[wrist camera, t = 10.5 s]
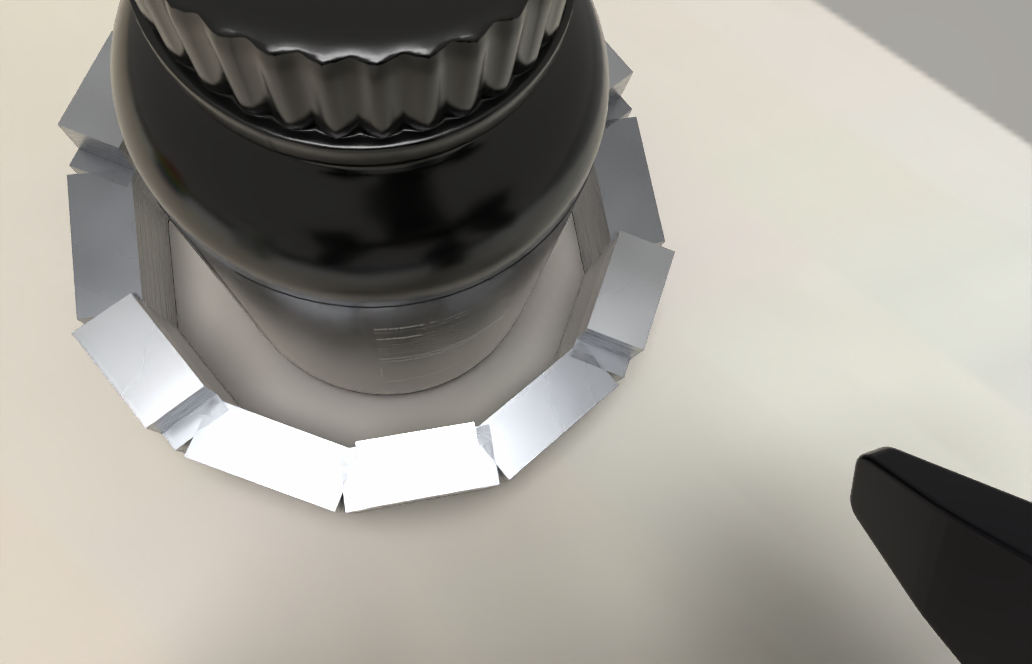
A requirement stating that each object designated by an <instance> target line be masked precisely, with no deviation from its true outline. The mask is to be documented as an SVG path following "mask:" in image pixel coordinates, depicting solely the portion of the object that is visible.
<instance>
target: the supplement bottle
mask: <svg viewBox="0 0 1032 664" xmlns="http://www.w3.org/2000/svg"><path fill="white" fill-rule="evenodd" d="M110 77H111V87H112V96H113V102H114V106H115V111H116V115H117V120H118V124H119V128H120V131H121V133H122V136H123V139H124V142H125V145H126V148H127V150H128V152H129V154H130V156H131V158H132V160H133V162H134V164H135V167H136V169H137V170H138V172H139V174H140V175H141V177H142V179H143V180H144V182H145V184H146V185H147V187H148V188H149V190H150V192H151V193H152V195H153V196H154V198H155V199H156V201H157V202H158V204H159V205H160V207H161V208H162V209H163V211H164V212H165V213H166V215H167V216H168V217H169V218H170V220H171V221H172V222H173V223H174V225H175V226H176V227H177V229H178V230H179V231H180V232H181V234H182V235H183V236H184V237H185V239H186V240H187V241H188V242H189V244H190V245H191V246H192V247H193V249H194V250H195V251H196V252H197V254H198V255H199V256H200V257H201V258H202V260H203V261H204V262H205V263H206V265H207V266H208V267H209V268H210V270H211V271H212V272H213V273H214V275H215V276H216V277H217V278H218V280H219V281H220V282H221V283H222V285H223V286H224V287H225V288H226V289H227V291H228V292H229V293H230V294H231V296H232V297H233V298H234V299H235V301H236V302H237V303H238V304H239V306H240V307H241V308H242V309H243V311H244V312H245V313H246V314H247V316H248V317H249V318H250V319H251V321H252V322H253V323H254V324H255V325H256V327H257V328H258V329H259V330H260V332H261V333H262V334H263V335H264V336H265V337H266V338H267V339H268V340H269V342H270V343H271V344H272V345H273V346H274V347H275V348H276V349H277V350H278V351H279V352H280V353H281V354H282V355H284V356H285V357H286V358H287V359H288V360H289V361H291V362H292V363H293V364H295V365H296V366H298V367H299V368H301V369H302V370H304V371H305V372H307V373H309V374H310V375H312V376H314V377H316V378H318V379H320V380H322V381H324V382H327V383H329V384H332V385H334V386H338V387H341V388H344V389H347V390H352V391H357V392H362V393H370V394H402V393H410V392H416V391H421V390H425V389H428V388H432V387H435V386H438V385H440V384H443V383H445V382H448V381H450V380H452V379H454V378H456V377H458V376H460V375H462V374H463V373H465V372H467V371H468V370H470V369H471V368H473V367H474V366H476V365H477V364H478V363H479V362H481V361H482V360H483V359H485V358H486V357H487V356H488V355H489V354H490V353H491V352H492V351H493V350H494V349H495V348H496V347H497V346H498V345H499V344H500V342H501V341H502V340H503V339H504V338H505V336H506V335H507V334H508V332H509V331H510V329H511V328H512V326H513V325H514V323H515V321H516V320H517V318H518V316H519V315H520V313H521V311H522V309H523V307H524V306H525V304H526V302H527V300H528V298H529V296H530V294H531V292H532V290H533V288H534V286H535V284H536V282H537V280H538V278H539V276H540V274H541V272H542V270H543V268H544V266H545V264H546V262H547V260H548V258H549V256H550V254H551V252H552V250H553V248H554V246H555V244H556V242H557V240H558V238H559V236H560V234H561V232H562V230H563V228H564V226H565V224H566V222H567V220H568V218H569V216H570V214H571V212H572V210H573V208H574V206H575V204H576V202H577V200H578V198H579V196H580V194H581V192H582V190H583V188H584V185H585V183H586V181H587V178H588V176H589V174H590V171H591V169H592V167H593V164H594V161H595V158H596V155H597V152H598V149H599V146H600V142H601V139H602V136H603V132H604V128H605V122H606V117H607V111H608V99H609V66H608V58H607V51H606V44H605V40H604V36H603V32H602V28H601V24H600V20H599V17H598V14H597V11H596V9H595V6H594V3H593V1H592V0H120V3H119V7H118V11H117V15H116V19H115V23H114V29H113V36H112V44H111V63H110Z"/></svg>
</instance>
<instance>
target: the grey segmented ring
mask: <svg viewBox="0 0 1032 664" xmlns="http://www.w3.org/2000/svg"><path fill="white" fill-rule="evenodd" d="M112 36H113V31H112V32H111V33H110V35H109V37H108V39H107V40H106V42H105V44H104V45H103V47H102V49H101V51H100V52H99V54H98V56H97V58H96V59H95V61H94V63H93V64H92V66H91V68H90V70H89V71H88V73H87V75H86V77H85V78H84V80H83V82H82V83H81V85H80V87H79V89H78V90H77V92H76V94H75V96H74V97H73V99H72V101H71V102H70V104H69V106H68V108H67V109H66V111H65V113H64V114H63V116H62V118H61V120H60V121H59V123H58V126H59V127H60V128H61V129H62V130H63V131H64V132H65V133H66V135H67V136H68V137H69V138H70V139H71V140H72V141H73V142H74V144H75V145H76V146H77V147H78V148H79V149H78V151H77V153H76V154H75V156H74V158H73V160H72V161H71V163H70V165H69V166H70V167H71V168H72V169H73V170H74V171H75V172H76V173H77V174H71V175H67V182H68V196H69V211H70V225H71V240H72V254H73V269H74V283H75V298H76V313H77V320H79V321H81V322H82V323H84V325H83V326H81V327H80V328H78V329H77V330H75V331H74V332H72V334H73V335H74V337H75V338H76V339H77V341H78V342H79V343H80V344H81V346H82V347H83V348H84V350H85V351H86V352H87V353H88V355H89V356H90V357H91V359H92V360H93V361H94V362H95V364H96V365H97V366H98V368H99V369H100V370H101V371H102V373H103V374H104V375H105V377H106V378H107V379H108V380H109V382H110V383H111V384H112V386H113V387H114V388H115V389H116V391H117V392H118V393H119V395H120V396H121V397H122V398H123V400H124V401H125V402H126V404H127V405H128V406H129V407H130V409H131V410H132V411H133V413H134V414H135V415H136V416H137V418H138V419H139V420H140V422H141V423H142V424H143V425H144V427H145V428H147V429H150V430H153V431H156V432H159V433H162V434H163V435H164V436H165V438H166V439H167V440H168V442H169V443H170V444H171V445H172V447H173V448H174V449H175V450H176V451H180V452H183V453H186V454H185V456H184V457H187V458H189V459H192V460H195V461H197V462H200V463H203V464H206V465H208V466H211V467H214V468H217V469H219V470H222V471H225V472H228V473H230V474H233V475H236V476H239V477H241V478H244V479H247V480H250V481H252V482H255V483H258V484H260V485H263V486H266V487H269V488H271V489H274V490H277V491H280V492H282V493H285V494H288V495H291V496H293V497H296V498H299V499H302V500H304V501H307V502H310V503H313V504H315V505H318V506H321V507H323V508H326V509H329V510H332V511H334V512H345V510H346V513H356V512H361V511H367V510H372V509H378V508H383V507H389V506H394V505H400V504H405V503H411V502H416V501H421V500H427V499H432V498H438V497H443V496H449V495H454V494H460V493H465V492H471V491H476V490H482V489H487V488H490V487H493V486H496V485H500V483H501V482H504V481H507V480H510V479H511V478H512V477H513V476H514V475H515V474H517V473H518V472H519V471H520V470H521V469H522V468H524V467H525V466H526V465H527V464H528V463H529V462H530V461H532V460H533V459H534V458H535V457H536V456H537V455H539V454H540V453H541V452H542V451H543V450H544V449H545V448H547V447H548V446H549V445H550V444H551V443H552V442H554V441H555V440H556V439H557V438H558V437H559V436H561V435H562V434H563V433H564V432H565V431H566V430H567V429H569V428H570V427H571V426H572V425H573V424H574V423H576V422H577V421H578V420H579V419H580V418H581V417H582V416H584V415H585V414H586V413H587V412H588V411H589V410H591V409H592V408H593V407H594V406H595V405H596V404H598V403H599V402H600V401H601V400H602V399H603V398H604V397H606V396H607V395H608V394H609V393H610V392H611V391H613V390H614V389H615V388H616V387H617V386H618V384H617V383H616V382H617V381H619V380H620V379H622V378H623V377H624V375H625V372H626V369H627V366H628V363H629V360H630V359H631V358H633V357H634V356H636V355H637V354H639V353H640V352H641V351H643V350H644V348H645V344H646V341H647V338H648V335H649V332H650V329H651V325H652V322H653V319H654V316H655V313H656V310H657V307H658V303H659V300H660V297H661V294H662V291H663V288H664V285H665V281H666V278H667V275H668V272H669V269H670V266H671V262H672V259H673V256H674V253H675V252H674V251H672V250H669V249H667V248H664V247H662V246H661V245H662V244H663V243H664V242H665V239H664V235H663V231H662V226H661V222H660V218H659V213H658V209H657V205H656V200H655V196H654V192H653V187H652V183H651V179H650V174H649V170H648V166H647V161H646V157H645V153H644V148H643V144H642V140H641V135H640V131H639V127H638V122H637V118H636V117H631V118H627V117H628V116H629V114H630V112H631V110H632V108H631V107H630V106H629V105H628V104H627V103H626V102H625V101H624V99H623V98H622V97H621V95H622V93H623V91H624V89H625V87H626V85H627V83H628V81H629V79H630V77H631V75H632V73H633V71H632V70H631V69H630V68H629V67H628V66H627V65H626V64H625V63H624V61H623V60H622V59H621V58H620V57H619V56H618V55H617V54H616V52H615V51H614V50H613V49H612V48H611V47H610V46H609V45H608V43H607V42H606V41H605V44H606V51H607V58H608V66H609V99H608V111H607V117H606V122H605V128H604V132H603V136H602V139H601V142H600V146H599V149H598V152H597V155H596V158H595V161H594V164H593V167H592V169H591V171H590V174H589V176H588V178H587V181H586V183H585V185H584V188H583V190H582V192H581V194H580V196H579V198H578V200H577V202H576V204H575V206H574V208H573V210H572V214H573V219H574V223H575V228H576V233H577V238H578V243H579V248H580V252H581V257H582V262H583V267H584V272H585V275H584V278H583V280H582V283H581V286H580V289H579V292H578V295H577V298H576V300H575V303H574V306H573V309H572V312H571V315H570V318H569V321H568V323H567V326H566V329H565V332H564V335H563V338H562V341H561V343H560V346H559V349H558V352H557V355H556V358H555V361H554V364H553V365H552V366H551V367H549V368H548V369H547V370H546V371H545V372H543V373H542V374H541V375H540V376H539V377H537V378H536V379H535V380H534V381H532V382H531V383H530V384H529V385H528V386H526V387H525V388H524V389H523V390H522V391H520V392H519V393H518V394H517V395H516V396H514V397H513V398H512V399H511V400H510V401H508V402H507V403H506V404H505V405H504V406H502V407H501V408H500V409H499V410H498V411H496V412H495V413H494V414H493V415H492V416H490V417H489V418H488V419H487V420H486V421H484V422H483V423H482V424H481V425H480V426H477V427H475V425H474V422H470V423H464V424H459V425H453V426H447V427H441V428H435V429H429V430H423V431H417V432H411V433H405V434H399V435H393V436H387V437H381V438H375V439H369V440H363V441H357V442H355V444H356V447H352V448H347V447H344V446H342V445H339V444H336V443H334V442H331V441H328V440H325V439H323V438H320V437H317V436H315V435H312V434H309V433H307V432H304V431H301V430H298V429H296V428H293V427H290V426H288V425H285V424H282V423H280V422H277V421H274V420H271V419H269V418H266V417H263V416H261V415H258V414H255V413H252V412H250V411H247V410H244V409H242V408H240V407H239V406H238V404H237V403H236V402H235V401H234V399H233V398H232V397H231V396H230V394H229V393H228V392H227V391H226V389H225V388H224V387H223V386H222V384H221V383H220V382H219V381H218V379H217V378H216V377H215V375H214V374H213V373H212V372H211V370H210V369H209V368H208V367H207V365H206V364H205V363H204V362H203V360H202V359H201V358H200V357H199V355H198V354H197V353H196V352H195V350H194V349H193V348H192V347H191V345H190V344H189V343H188V341H187V340H186V339H185V338H184V336H183V335H182V334H181V333H180V331H179V330H178V326H177V315H176V305H175V294H174V284H173V273H172V263H171V252H170V242H169V231H168V221H169V219H170V218H169V217H168V216H167V215H166V213H165V212H164V211H163V209H162V208H161V207H160V205H159V204H158V202H157V201H156V199H155V198H154V196H153V195H152V193H151V192H150V190H149V188H148V187H147V185H146V184H145V182H144V180H143V179H142V177H141V175H140V174H139V172H138V170H137V169H136V167H135V164H134V162H133V160H132V158H131V156H130V154H129V152H128V150H127V148H126V145H125V142H124V139H123V136H122V133H121V131H120V128H119V124H118V120H117V115H116V111H115V106H114V102H113V96H112V87H111V77H110V63H111V44H112Z"/></svg>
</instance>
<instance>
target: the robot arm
mask: <svg viewBox="0 0 1032 664" xmlns="http://www.w3.org/2000/svg"><path fill="white" fill-rule="evenodd" d="M850 501H851V506H852V510H853V512H854V514H855V516H856V518H857V519H858V521H859V522H860V524H861V525H862V527H863V528H864V530H865V531H866V533H867V534H868V536H869V537H870V539H871V540H872V542H873V543H874V545H875V546H876V548H877V549H878V551H879V552H880V554H881V555H882V557H883V558H884V560H885V561H886V563H887V564H888V566H889V567H890V569H891V570H892V572H893V573H894V575H895V576H896V578H897V579H898V581H899V582H900V584H901V585H902V587H903V588H904V590H905V591H906V593H907V594H908V596H909V597H910V599H911V600H912V602H913V603H914V604H915V606H916V607H917V609H918V610H919V611H920V613H921V614H922V616H923V617H924V618H925V619H926V621H927V622H928V623H929V625H930V626H931V627H932V628H933V630H934V631H935V632H936V633H937V635H938V636H939V637H940V638H941V639H942V641H943V642H944V643H945V644H946V646H947V647H948V648H949V649H950V650H951V652H952V653H953V654H954V655H955V657H956V658H957V659H958V660H959V661H960V663H961V664H1032V502H1029V501H1027V500H1024V499H1022V498H1019V497H1017V496H1014V495H1011V494H1009V493H1006V492H1004V491H1001V490H999V489H996V488H994V487H991V486H989V485H986V484H984V483H981V482H979V481H976V480H974V479H971V478H969V477H966V476H964V475H961V474H959V473H956V472H953V471H951V470H948V469H946V468H943V467H941V466H938V465H936V464H933V463H931V462H928V461H926V460H923V459H921V458H918V457H916V456H913V455H911V454H908V453H906V452H903V451H901V450H898V449H895V448H892V447H881V448H878V449H875V450H873V451H870V452H867V453H864V454H862V455H860V456H859V458H858V459H857V461H856V465H855V471H854V477H853V483H852V489H851V495H850Z"/></svg>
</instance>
